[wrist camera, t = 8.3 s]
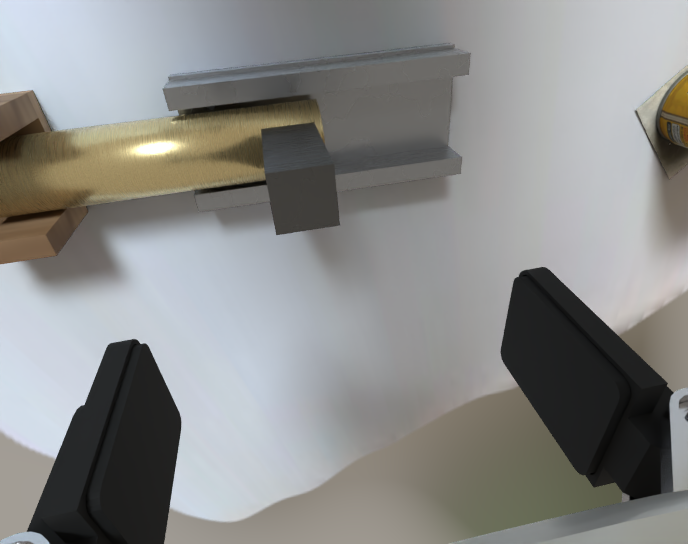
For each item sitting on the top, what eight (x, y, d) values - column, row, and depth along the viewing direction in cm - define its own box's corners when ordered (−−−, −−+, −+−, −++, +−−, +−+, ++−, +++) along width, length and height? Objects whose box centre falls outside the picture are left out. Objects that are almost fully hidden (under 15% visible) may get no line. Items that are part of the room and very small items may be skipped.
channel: (170, 74, 26) (161, 84, 24) (449, 43, 28) (470, 49, 26) (204, 194, 31) (200, 214, 28) (443, 160, 33) (460, 176, 30)
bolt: (-22, 132, 25) (-180, 217, 16) (311, 92, 28) (344, 146, 18) (16, 200, 28) (-102, 308, 19) (319, 158, 30) (351, 236, 21)
